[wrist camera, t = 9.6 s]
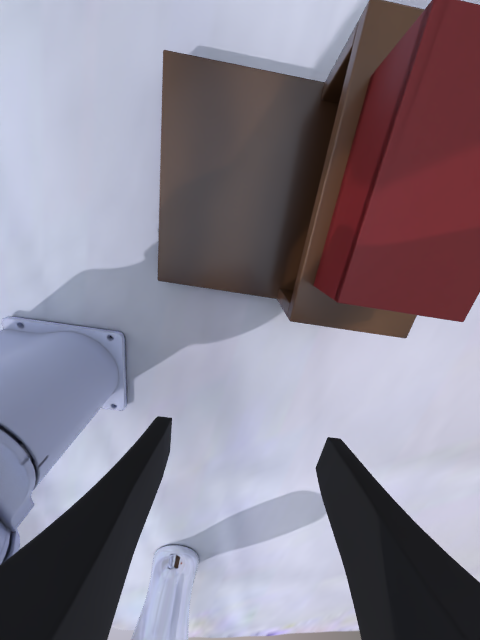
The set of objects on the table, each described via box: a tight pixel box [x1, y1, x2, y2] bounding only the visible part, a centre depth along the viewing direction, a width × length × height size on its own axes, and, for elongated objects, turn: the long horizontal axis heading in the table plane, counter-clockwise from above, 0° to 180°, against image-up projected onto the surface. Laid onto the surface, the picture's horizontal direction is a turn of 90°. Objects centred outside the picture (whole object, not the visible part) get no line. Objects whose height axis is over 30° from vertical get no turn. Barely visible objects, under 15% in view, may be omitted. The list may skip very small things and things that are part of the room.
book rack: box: [158, 0, 424, 338], centre depth 12 cm, size 15×12×6 cm
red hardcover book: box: [314, 0, 480, 322], centre depth 8 cm, size 5×8×3 cm, turn 171°
